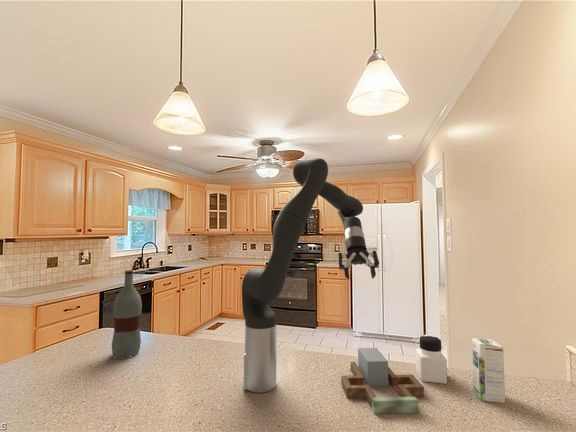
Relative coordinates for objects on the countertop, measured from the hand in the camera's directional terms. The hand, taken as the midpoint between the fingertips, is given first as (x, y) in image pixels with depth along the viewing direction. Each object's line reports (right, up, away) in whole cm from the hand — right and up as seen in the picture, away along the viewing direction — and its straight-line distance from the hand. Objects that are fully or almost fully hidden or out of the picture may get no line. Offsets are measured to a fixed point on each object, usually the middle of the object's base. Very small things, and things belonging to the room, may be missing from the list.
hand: (360, 278), depth 103 cm
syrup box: (+29, -27, -24) cm, 46 cm away
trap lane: (0, -27, -20) cm, 34 cm away
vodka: (-84, -29, +3) cm, 89 cm away
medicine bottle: (+18, -28, -13) cm, 36 cm away
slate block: (0, -28, -13) cm, 31 cm away
